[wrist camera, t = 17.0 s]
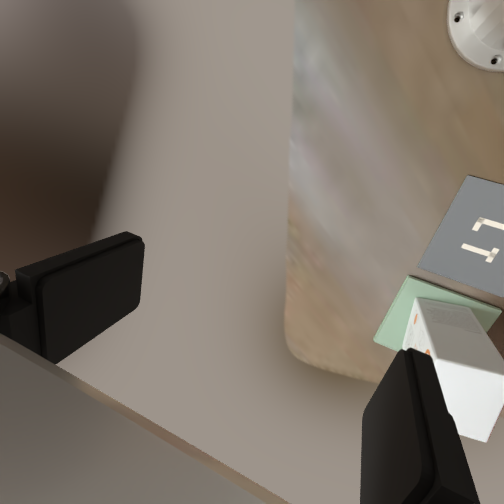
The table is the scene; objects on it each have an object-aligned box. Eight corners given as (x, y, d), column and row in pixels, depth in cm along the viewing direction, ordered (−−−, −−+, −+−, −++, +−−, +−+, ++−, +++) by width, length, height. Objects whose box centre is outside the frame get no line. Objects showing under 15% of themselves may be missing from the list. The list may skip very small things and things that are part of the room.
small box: (452, 358, 39) (487, 445, 28) (401, 345, 41) (413, 422, 30) (471, 305, 36) (519, 378, 25) (414, 295, 38) (434, 358, 27)
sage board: (407, 274, 39) (408, 277, 38) (499, 308, 36) (502, 311, 35) (373, 338, 43) (373, 341, 42) (453, 371, 41) (454, 375, 40)
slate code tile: (467, 175, 33) (467, 175, 33) (569, 203, 31) (571, 203, 30) (417, 266, 38) (417, 267, 38) (502, 296, 36) (503, 297, 35)
